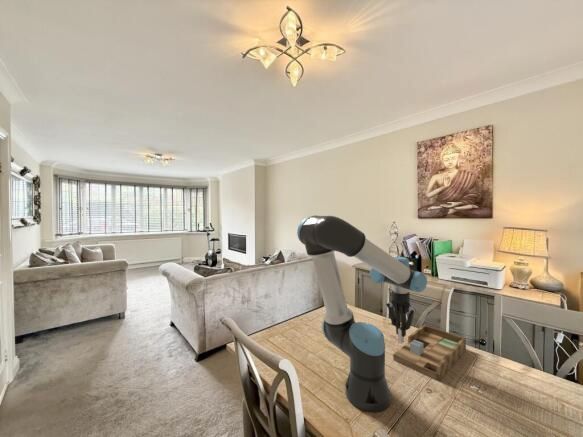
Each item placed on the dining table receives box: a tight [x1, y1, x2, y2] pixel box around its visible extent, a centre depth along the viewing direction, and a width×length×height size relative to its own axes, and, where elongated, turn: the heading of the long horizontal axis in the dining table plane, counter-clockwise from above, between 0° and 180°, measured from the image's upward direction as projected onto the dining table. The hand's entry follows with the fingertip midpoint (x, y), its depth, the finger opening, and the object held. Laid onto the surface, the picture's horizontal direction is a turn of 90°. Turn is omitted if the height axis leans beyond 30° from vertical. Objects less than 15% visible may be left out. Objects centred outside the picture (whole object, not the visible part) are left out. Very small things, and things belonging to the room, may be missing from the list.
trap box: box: [392, 324, 467, 382], centre depth 109 cm, size 32×18×6 cm, turn 130°
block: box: [410, 340, 424, 356], centre depth 106 cm, size 4×4×4 cm
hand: (401, 342), depth 112 cm, fingers closed
